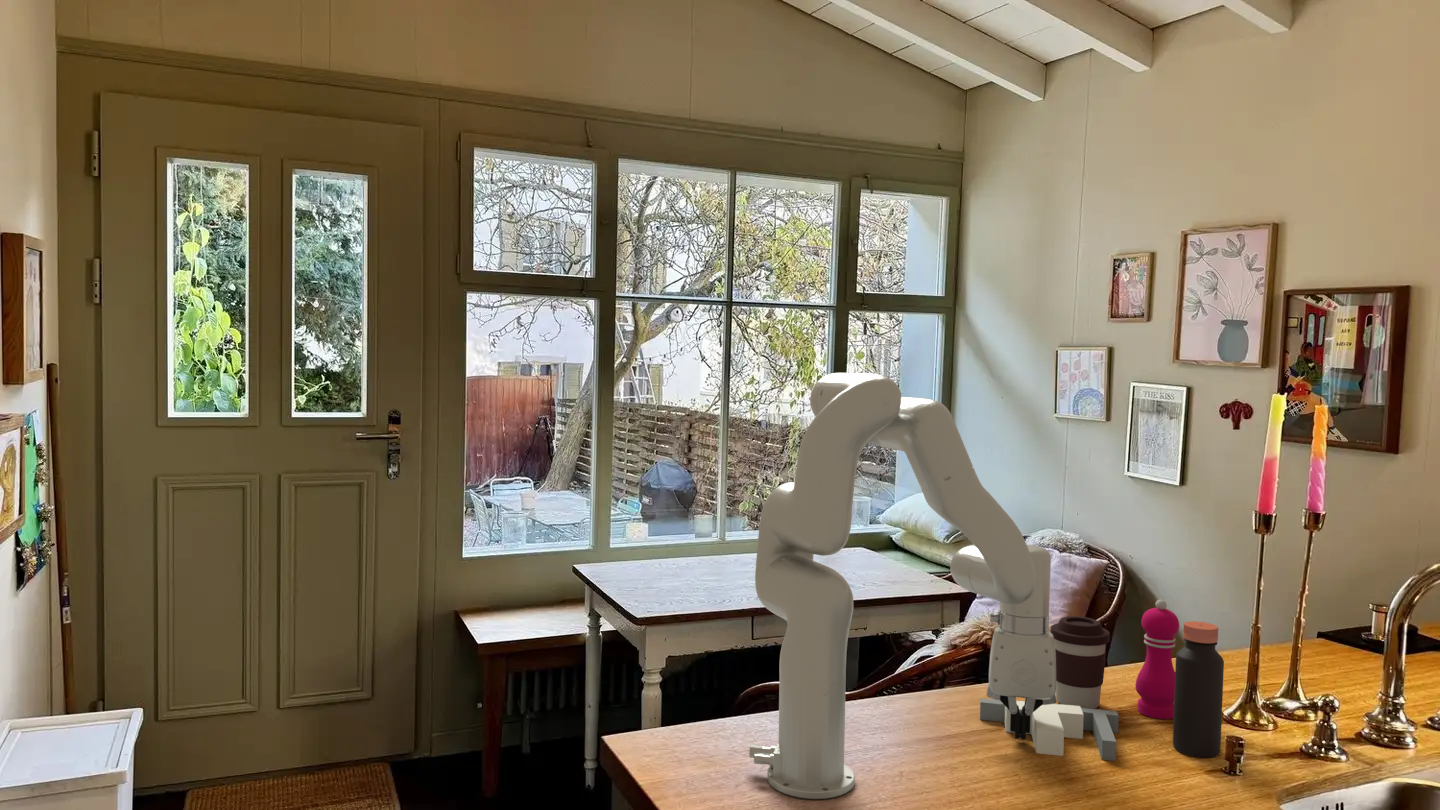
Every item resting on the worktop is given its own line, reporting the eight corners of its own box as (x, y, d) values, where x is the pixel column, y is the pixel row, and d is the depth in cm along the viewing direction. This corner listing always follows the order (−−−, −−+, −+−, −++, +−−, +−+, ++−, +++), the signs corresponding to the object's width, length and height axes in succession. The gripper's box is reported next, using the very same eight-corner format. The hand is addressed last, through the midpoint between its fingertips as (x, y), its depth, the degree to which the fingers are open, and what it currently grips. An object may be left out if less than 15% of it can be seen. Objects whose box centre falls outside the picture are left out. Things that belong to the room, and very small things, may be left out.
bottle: (1182, 738, 159) (1186, 617, 158) (1226, 750, 155) (1231, 625, 154) (1165, 749, 155) (1170, 624, 154) (1211, 762, 150) (1216, 634, 149)
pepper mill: (1184, 722, 167) (1189, 606, 166) (1139, 718, 168) (1143, 603, 167) (1174, 707, 174) (1178, 596, 173) (1130, 704, 175) (1134, 593, 174)
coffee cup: (1112, 701, 177) (1115, 619, 176) (1101, 717, 168) (1103, 631, 168) (1056, 690, 182) (1058, 610, 181) (1042, 706, 174) (1044, 622, 173)
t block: (1009, 750, 154) (1010, 725, 153) (1004, 723, 165) (1004, 699, 165) (1090, 758, 151) (1091, 732, 151) (1079, 729, 163) (1080, 706, 163)
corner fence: (980, 746, 155) (981, 727, 155) (979, 715, 169) (980, 698, 168) (1129, 762, 150) (1130, 743, 150) (1116, 728, 163) (1116, 711, 163)
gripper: (975, 625, 154) (971, 739, 155) (1075, 633, 151) (1071, 750, 151) (975, 613, 161) (971, 723, 162) (1070, 621, 158) (1066, 733, 159)
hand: (1019, 736), depth 157 cm, fingers closed
